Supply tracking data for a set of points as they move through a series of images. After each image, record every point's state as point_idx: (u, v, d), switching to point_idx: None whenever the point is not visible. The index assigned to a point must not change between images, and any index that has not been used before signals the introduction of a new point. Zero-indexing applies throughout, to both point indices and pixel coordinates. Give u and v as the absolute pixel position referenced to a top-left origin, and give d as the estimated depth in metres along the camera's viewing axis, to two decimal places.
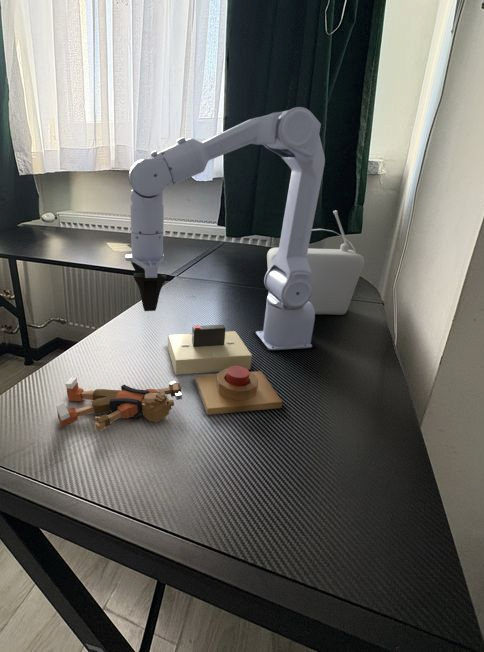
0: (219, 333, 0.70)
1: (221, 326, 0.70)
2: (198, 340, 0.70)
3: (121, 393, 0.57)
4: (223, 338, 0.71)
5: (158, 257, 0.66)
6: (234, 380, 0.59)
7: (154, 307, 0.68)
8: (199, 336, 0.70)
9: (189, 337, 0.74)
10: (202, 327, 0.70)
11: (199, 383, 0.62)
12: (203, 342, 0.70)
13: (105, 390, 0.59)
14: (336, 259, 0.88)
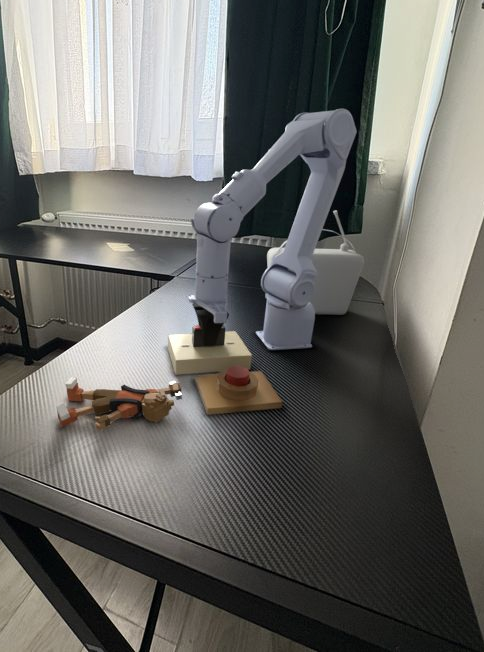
0: (219, 333, 0.70)
1: None
2: (198, 340, 0.70)
3: (121, 393, 0.57)
4: (224, 338, 0.71)
5: (223, 299, 0.66)
6: (234, 380, 0.59)
7: (214, 342, 0.70)
8: (199, 336, 0.70)
9: (189, 337, 0.74)
10: None
11: (199, 383, 0.62)
12: None
13: (105, 391, 0.59)
14: (336, 259, 0.88)
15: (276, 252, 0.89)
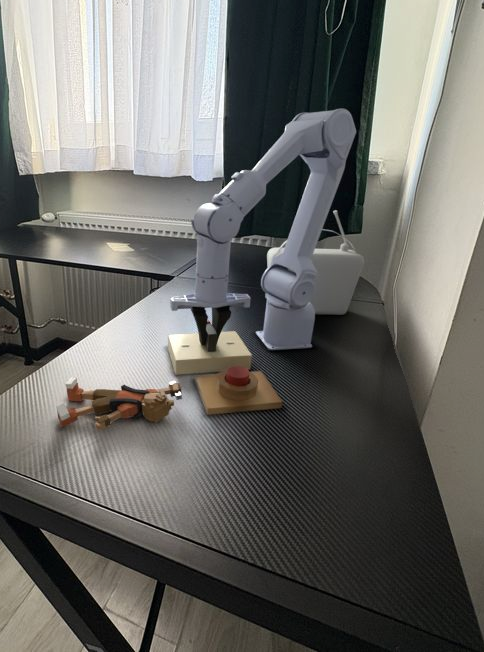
0: (206, 336, 0.69)
1: (211, 332, 0.68)
2: None
3: (121, 393, 0.57)
4: (207, 344, 0.68)
5: (200, 300, 0.66)
6: (234, 380, 0.59)
7: (201, 341, 0.70)
8: None
9: (189, 337, 0.74)
10: (207, 324, 0.71)
11: (199, 383, 0.62)
12: None
13: (105, 391, 0.59)
14: (336, 259, 0.88)
15: (276, 252, 0.89)
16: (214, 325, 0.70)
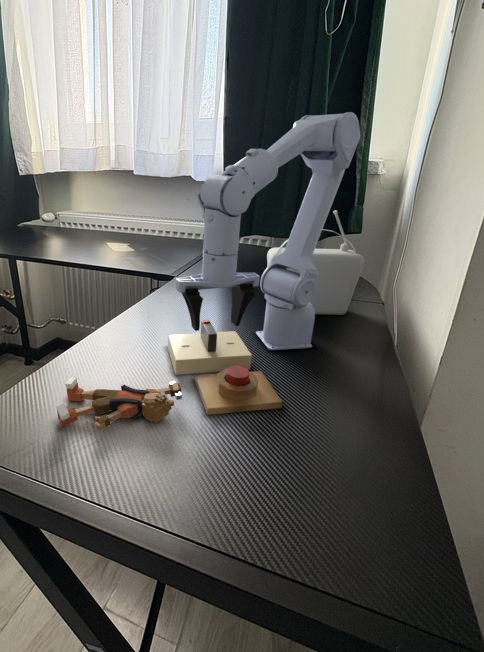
0: (206, 336, 0.69)
1: (211, 332, 0.68)
2: (201, 333, 0.73)
3: (121, 393, 0.57)
4: (207, 344, 0.68)
5: (210, 280, 0.61)
6: (234, 380, 0.59)
7: (194, 326, 0.65)
8: (202, 329, 0.72)
9: (189, 337, 0.74)
10: (207, 324, 0.71)
11: (199, 383, 0.62)
12: (202, 337, 0.72)
13: (105, 391, 0.59)
14: (336, 259, 0.88)
15: (276, 252, 0.89)
16: (236, 305, 0.67)
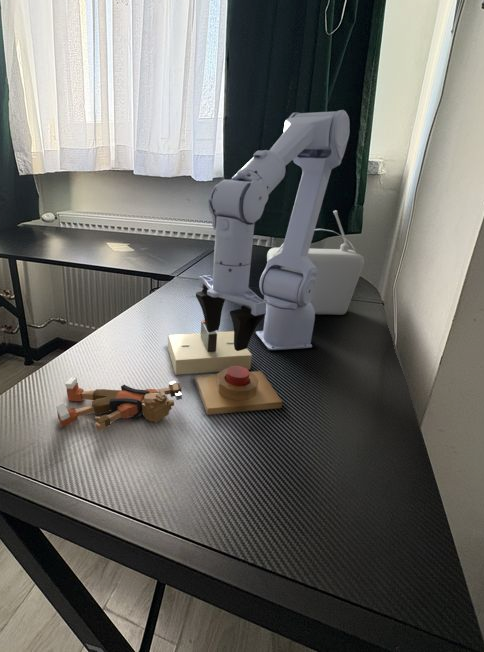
0: (206, 336, 0.69)
1: (211, 332, 0.68)
2: (201, 333, 0.73)
3: (121, 393, 0.57)
4: (207, 344, 0.68)
5: (247, 289, 0.59)
6: (234, 380, 0.59)
7: (246, 344, 0.60)
8: (202, 329, 0.72)
9: (189, 337, 0.74)
10: None
11: (199, 383, 0.62)
12: (202, 337, 0.72)
13: (105, 391, 0.59)
14: (336, 259, 0.88)
15: (276, 252, 0.89)
16: (215, 311, 0.65)
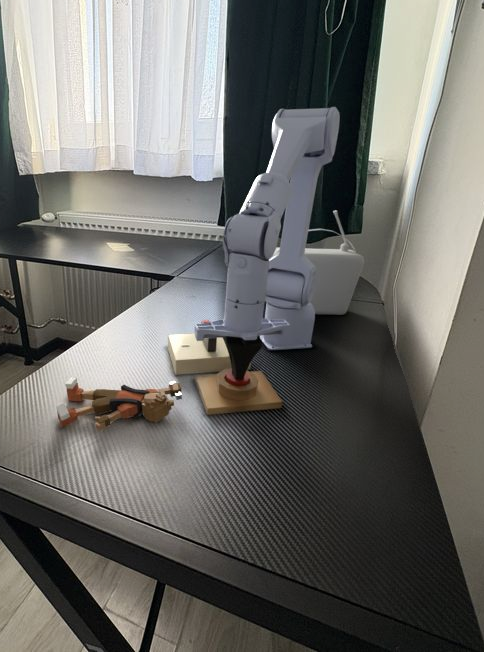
0: None
1: None
2: None
3: (121, 393, 0.57)
4: (207, 344, 0.68)
5: None
6: (234, 384, 0.59)
7: None
8: None
9: (189, 337, 0.74)
10: None
11: (199, 383, 0.62)
12: None
13: (105, 391, 0.59)
14: (336, 259, 0.88)
15: (276, 252, 0.89)
16: None
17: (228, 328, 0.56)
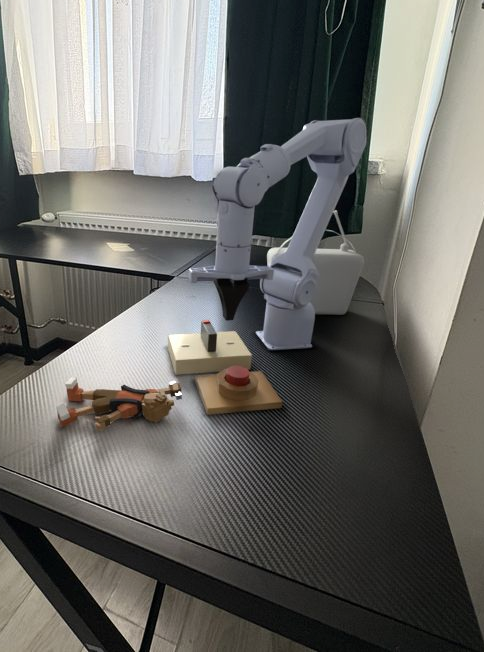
0: (206, 336, 0.69)
1: (211, 332, 0.68)
2: (201, 333, 0.73)
3: (121, 393, 0.57)
4: (207, 344, 0.68)
5: None
6: (234, 380, 0.59)
7: None
8: (202, 329, 0.72)
9: (189, 337, 0.74)
10: (207, 324, 0.71)
11: (199, 383, 0.62)
12: (202, 337, 0.72)
13: (105, 391, 0.59)
14: (336, 259, 0.88)
15: (276, 252, 0.89)
16: None
17: (219, 271, 0.62)
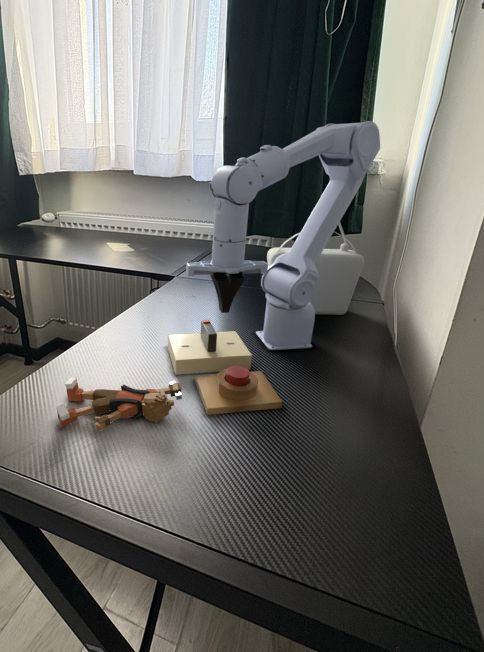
0: (206, 336, 0.69)
1: (211, 332, 0.68)
2: (201, 333, 0.73)
3: (121, 393, 0.57)
4: (207, 344, 0.68)
5: None
6: (234, 380, 0.59)
7: None
8: (202, 329, 0.72)
9: (189, 337, 0.74)
10: (207, 324, 0.71)
11: (199, 383, 0.62)
12: (202, 337, 0.72)
13: (105, 391, 0.59)
14: (336, 259, 0.88)
15: (276, 252, 0.89)
16: None
17: (215, 265, 0.65)
